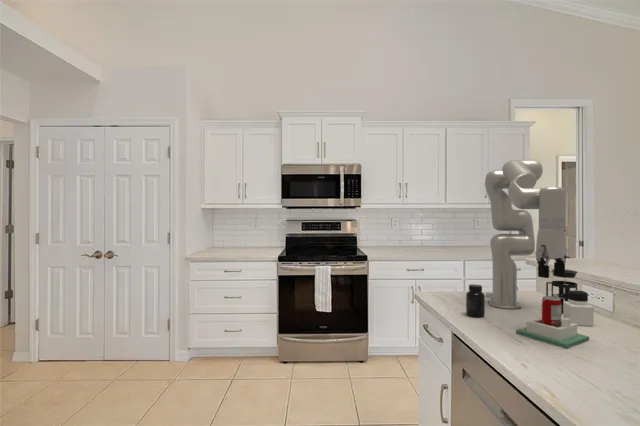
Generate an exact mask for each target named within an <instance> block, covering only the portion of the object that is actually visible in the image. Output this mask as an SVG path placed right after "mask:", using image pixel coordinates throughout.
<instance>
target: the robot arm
mask: <svg viewBox="0 0 640 426" xmlns="http://www.w3.org/2000/svg"><path fill="white" fill-rule="evenodd" d="M543 168H544V167H543V165H542V163H541V162H540V161H539V160H538V159H537V160H536V159H512V160H509V161H507V162H505V163H504V164H503V165H502V167H501V169H495V170H491V171H489V172H488V173H486V175H485V179H484V184H485V185H484V187H485V191H486V194H487V196H488V198H489V202H490V211H491V213H490V214H491V222H492V223H491V224H492V227H493V229H494V230H495V231H498V232H518V233H499V234H494V235H493V236H492V237H491V238H490V240H489V241H490V243H489V245H490V246H489V247H490V250H491V257H492V258H491V259H492V293H491V292H486V293H485V294H484V295H485V298H489V299H490V300H489V301H488V304H489V306H491V307H495V308H499V309H506V310H515V309H520V308H521V307H522V304H521V303H520V302H517V301H518V299H517V297H518V293H517V291H518V287H517V282H518V281H517V278H518V277H517V276H518V271H517V270H518V268H517V267H518V266H517V264H516V262H515V261H514V259H513V258H512V257H513V256H524V257H525V256H526V257H527V256H531V255H533V254H535V257H536V259H535V260H536V261H537V262H536V263H537V276H538V278H544V279H549V278H550V265H549V263H550V260H554V262H553V269H554V274H557V275H565V269H566V262H567V260H565V259H567V258H566V256H567V252H568V249H567V248H566V247H567V245H566V234H565V230H566V189H565V188H564V187H561V186H553V187H552V186H547V187H535V186H536V184H537V181H538V180H540V179H541V177H542V175H543ZM505 190H507V192H505ZM513 206H514V207H515V208H517V209H513ZM527 210H538V230H537V234H536V239H535V232H534V223H533V221H534V220H533V217H532V215H531V213H530V212H529V211H527ZM535 240H536V242H535ZM534 252H535V253H534Z"/></svg>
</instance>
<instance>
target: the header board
mask: <svg viewBox="0 0 640 426" xmlns="http://www.w3.org/2000/svg"><path fill="white" fill-rule="evenodd" d="M515 335H518V336H519V335H520V336H523V337H526V338H530V339H533V340H535V341H536V340H537V341H540V342H543V343H547V344H549V345H553V346H557V347H560V348H563V349H569V348H572V347H574V346H575V347H576V346H578V345H580V344H584V343H585V342H588V341H590V336H588V335H585V334H580V333H578V325H577V324H573V323H571V319H570V318H564V319H563V318H561V327H558V328H557V327H553V326H549V325H545V324H542V316H540V317H535V318H533V319H530V320H526V327H521V328H519V329H518V328H517V329H515Z"/></svg>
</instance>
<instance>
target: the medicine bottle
mask: <svg viewBox="0 0 640 426" xmlns="http://www.w3.org/2000/svg"><path fill="white" fill-rule="evenodd" d="M568 301H569V302H568ZM568 301H565V300H564V302H563V314H562V319H564V318H570V319H571V323H573V324H577V326H581V327H593V326H594V306H592V305H589V304H588V303H589V302H588V301H589V294H588V292H586V291H584V290H579V289H577V290H576V289H570V291H568Z"/></svg>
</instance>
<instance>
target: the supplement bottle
mask: <svg viewBox="0 0 640 426" xmlns="http://www.w3.org/2000/svg"><path fill="white" fill-rule="evenodd" d="M482 291H483V286H482V285H480V284H472V283H471V284H469V285H468V291H467V292H466V293H465V299H466V301H465V307H466V308H465V309H466V310H465V312H466V315H467V317H470V318H477V319H478V318H479V319H481V318H484V317H485V314H486V312H485V311H486V310H485V309H486V308H485V307H486V305H485V304H486V302H485V301H486V299H485V298H486V297H485V295H486V294H485V293H484V292H482Z"/></svg>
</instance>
